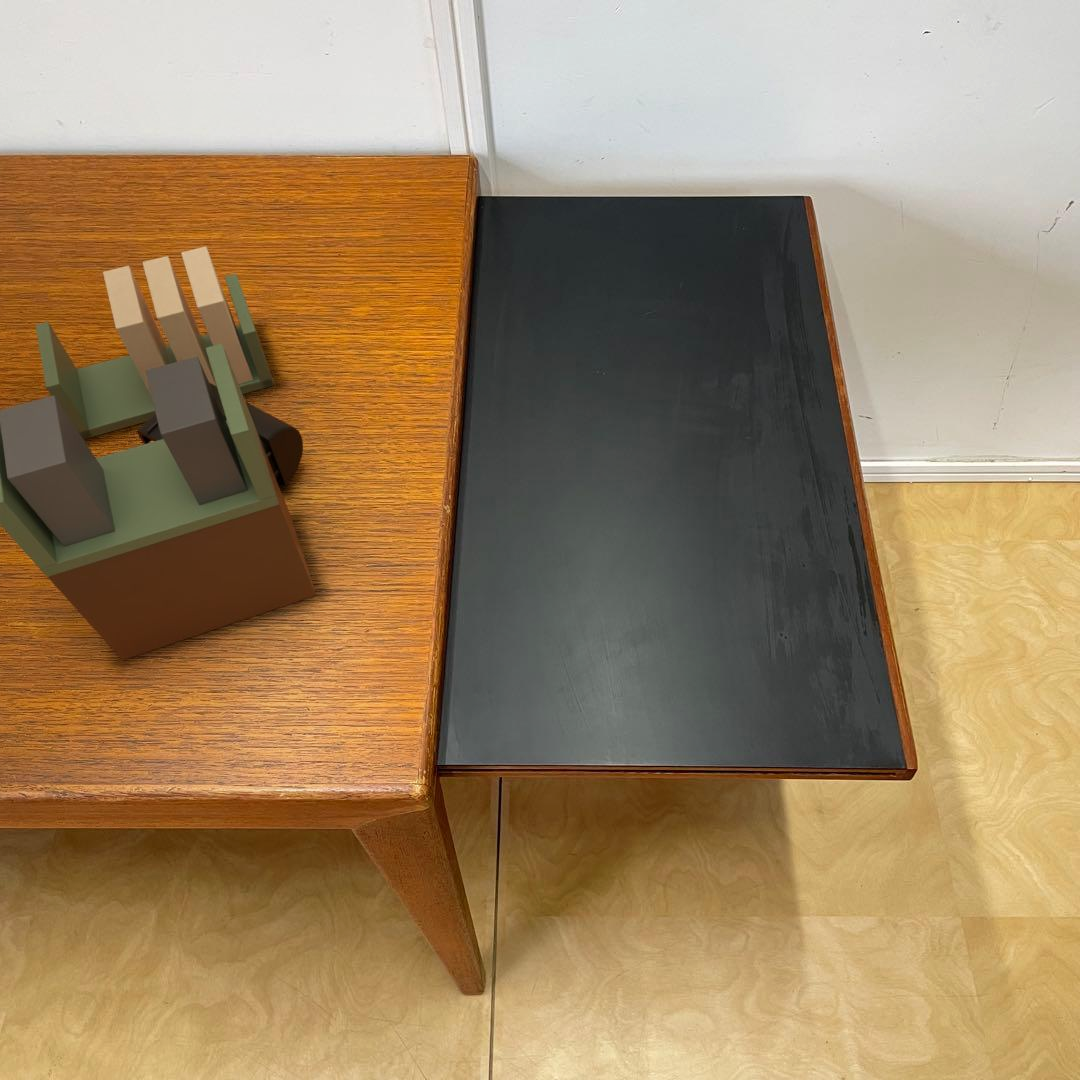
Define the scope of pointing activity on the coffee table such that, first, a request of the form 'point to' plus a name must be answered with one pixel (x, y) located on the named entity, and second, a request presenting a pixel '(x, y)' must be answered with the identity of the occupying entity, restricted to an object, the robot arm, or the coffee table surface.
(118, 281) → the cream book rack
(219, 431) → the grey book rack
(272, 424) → the end cap
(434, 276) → the coffee table surface
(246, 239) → the coffee table surface
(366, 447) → the coffee table surface
